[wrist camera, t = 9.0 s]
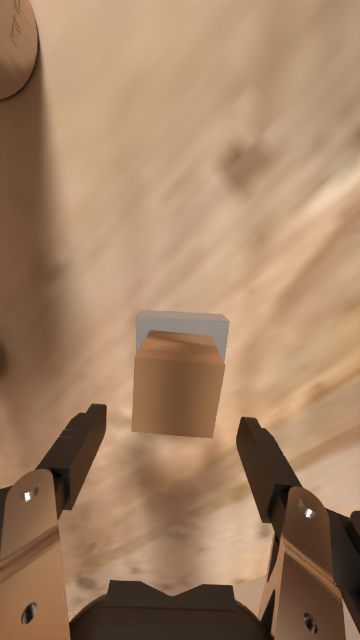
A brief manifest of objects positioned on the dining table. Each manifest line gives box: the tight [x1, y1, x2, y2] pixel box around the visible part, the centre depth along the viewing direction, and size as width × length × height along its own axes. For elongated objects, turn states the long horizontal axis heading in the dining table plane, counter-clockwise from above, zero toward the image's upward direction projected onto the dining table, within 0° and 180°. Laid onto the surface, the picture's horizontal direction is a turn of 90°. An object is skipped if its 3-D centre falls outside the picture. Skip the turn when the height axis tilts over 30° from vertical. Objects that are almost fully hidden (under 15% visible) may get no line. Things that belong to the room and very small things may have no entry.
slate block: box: [136, 310, 229, 401], centre depth 20 cm, size 9×9×4 cm
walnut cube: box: [132, 330, 225, 438], centre depth 16 cm, size 6×6×6 cm
